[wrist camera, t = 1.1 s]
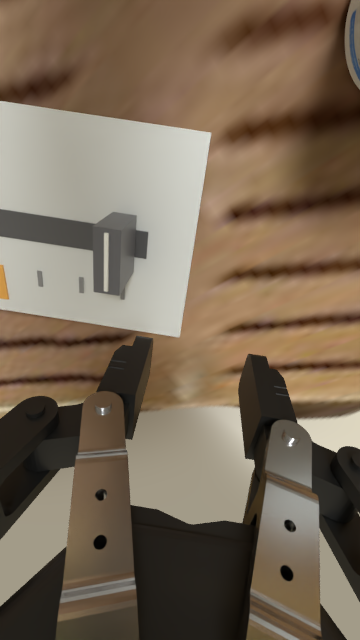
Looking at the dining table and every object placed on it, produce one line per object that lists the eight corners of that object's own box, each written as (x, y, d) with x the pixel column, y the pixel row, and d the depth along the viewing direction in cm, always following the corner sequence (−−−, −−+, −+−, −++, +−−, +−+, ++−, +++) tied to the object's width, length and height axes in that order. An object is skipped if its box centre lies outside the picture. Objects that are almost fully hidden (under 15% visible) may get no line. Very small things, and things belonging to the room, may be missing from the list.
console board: (-140, 80, 24) (-195, 70, 21) (211, 133, 24) (211, 132, 21) (-74, 287, 33) (-105, 302, 30) (181, 327, 33) (177, 347, 30)
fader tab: (112, 211, 25) (91, 226, 21) (136, 215, 25) (120, 231, 21) (111, 268, 28) (92, 293, 23) (133, 272, 28) (118, 297, 23)
